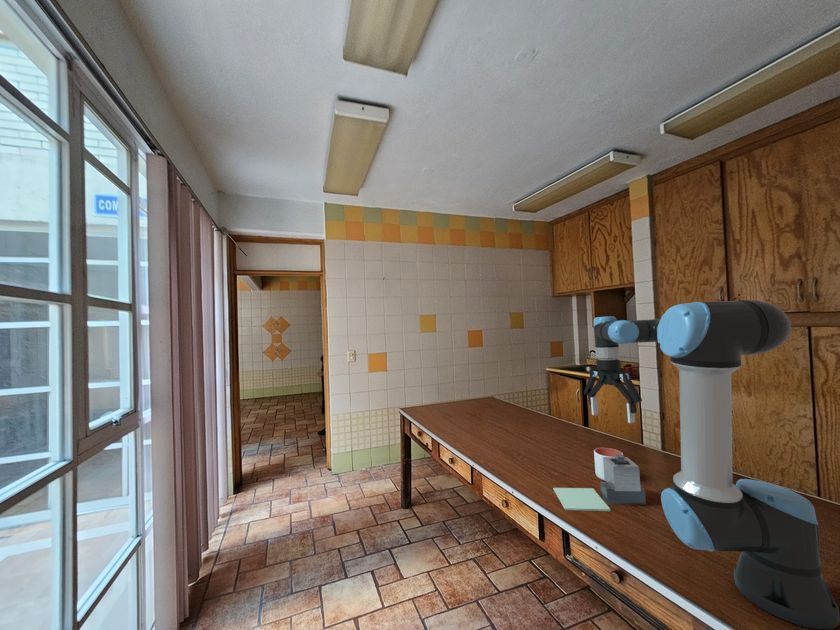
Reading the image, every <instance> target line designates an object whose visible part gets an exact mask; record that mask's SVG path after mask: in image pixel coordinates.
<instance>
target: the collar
mask: <svg viewBox="0 0 840 630" xmlns="http://www.w3.org/2000/svg"><path fill="white" fill-rule="evenodd" d="M624 457H625V460H626V465H616V464H615V457H603V465H604V479H605V481H604V482H607V483H608V484H609V485H610V486H611V487H612V488H613V489H614V491H641V487H640V485H641V478H640V476H641V475H640V466H639V465H637V464H636V463H635V462H634V461H633V460H631V459H630V458H629V457H627V456H624Z"/></svg>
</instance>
